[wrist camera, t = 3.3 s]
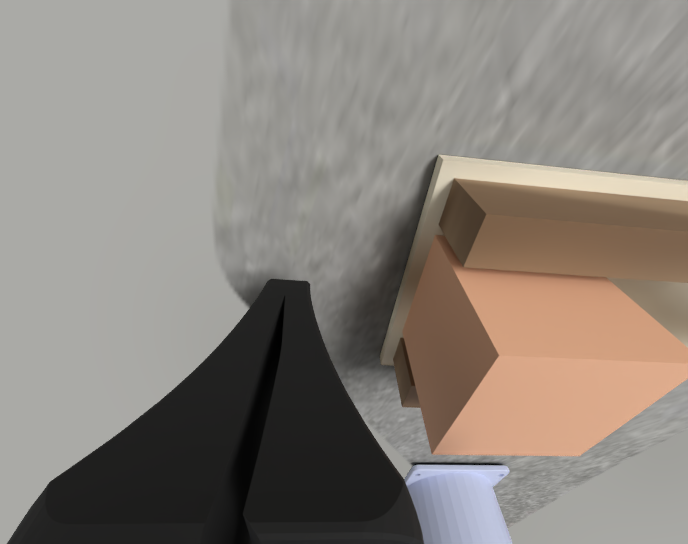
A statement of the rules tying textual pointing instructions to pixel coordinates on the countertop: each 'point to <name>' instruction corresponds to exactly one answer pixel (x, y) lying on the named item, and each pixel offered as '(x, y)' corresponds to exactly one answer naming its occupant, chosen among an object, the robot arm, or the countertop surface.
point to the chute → (558, 238)
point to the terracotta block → (531, 358)
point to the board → (652, 296)
